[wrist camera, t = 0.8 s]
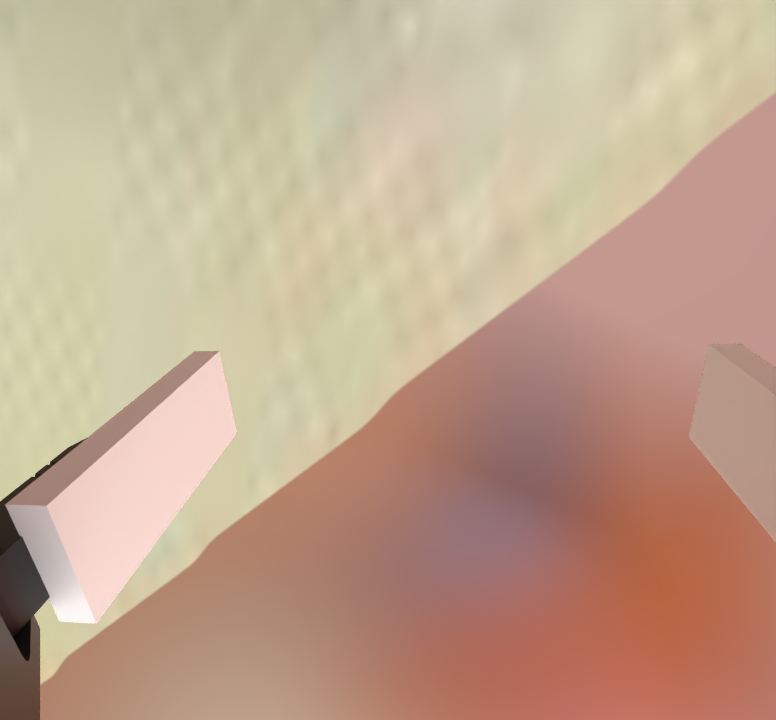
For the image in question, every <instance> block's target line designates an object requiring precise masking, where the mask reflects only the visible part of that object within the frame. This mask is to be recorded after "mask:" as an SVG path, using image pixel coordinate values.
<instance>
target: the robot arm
mask: <svg viewBox="0 0 776 720" xmlns="http://www.w3.org/2000/svg"><path fill="white" fill-rule="evenodd" d="M236 434H237V432H236V427H235V422H234V418H233V413H232V408H231V404H230V399H229V394H228V390H227V385H226V380H225V376H224V371H223V366H222V362H221V357H220V352H219V351H199V352H193V353H192V354H191V355H189V356H188V357H187V358H186V359H184V360H183V361H182V362H181V363H180V364H178V365H177V366H176V367H175V368H173V369H172V370H171V371H170V372H168V373H167V374H166V375H165V376H163V377H162V378H161V379H160V380H158V381H157V382H156V383H155V384H154V385H152V386H151V387H150V388H149V389H147V390H146V391H145V392H144V393H142V394H141V395H140V396H139V397H137V398H136V399H135V400H134V401H133V402H131V403H130V404H129V405H128V406H126V407H125V408H124V409H123V410H121V411H120V412H119V413H118V414H116V415H115V416H114V417H113V418H112V419H110V420H109V421H108V422H107V423H105V424H104V425H103V426H102V427H100V428H99V429H98V430H97V431H95V432H94V433H93V434H92V435H90V436H89V437H88V438H86V439H84V440H82V441H80V442H78V443H76V444H74V445H72V446H71V447H69V448H67V449H66V450H65V451H63V452H62V453H61V454H60V455H58V456H57V457H56V458H55V459H53V460H52V461H51V462H50V465H46V466H45V467H43V468H42V469H41V470H39V471H38V472H37V473H36V474H35V477H31V478H29V479H28V480H27V481H26V482H24V483H23V484H22V485H21V486H19V487H18V488H17V489H16V490H14V491H13V492H12V493H10V494H9V495H8V496H7V497H5V498H4V499H3V500H2V501H0V720H40V628H39V626H38V623H37V621H36V619H35V616H34V614H35V613H36V612H37V611H38V610H39V609H40V607H41V606H42V605H43V604H44V603H45V602H46V601H47V599H48V598H49V600H50V602H51V605H52V607H53V609H54V611H55V613H56V615H57V617H58V620H59V621H63V622H79V623H95V624H96V623H97V622H98V621H99V619H100V618H101V617H102V615H103V614H104V613H105V611H106V610H107V609H108V607H109V606H110V604H111V603H112V602H113V600H114V599H115V598H116V596H117V595H118V594H119V592H120V591H121V590H122V588H123V587H124V585H125V584H126V583H127V581H128V580H129V579H130V577H131V576H132V575H133V573H134V572H135V571H136V569H137V568H138V566H139V565H140V564H141V562H142V561H143V560H144V558H145V557H146V556H147V554H148V553H149V552H150V550H151V549H152V547H153V546H154V545H155V543H156V542H157V541H158V539H159V538H160V537H161V535H162V534H163V533H164V531H165V530H166V528H167V527H168V526H169V524H170V523H171V522H172V520H173V519H174V518H175V516H176V515H177V514H178V512H179V511H180V510H181V508H182V507H183V505H184V504H185V503H186V501H187V500H188V499H189V497H190V496H191V495H192V493H193V492H194V491H195V489H196V488H197V486H198V485H199V484H200V482H201V481H202V480H203V478H204V477H205V476H206V474H207V473H208V472H209V470H210V469H211V467H212V466H213V465H214V463H215V462H216V461H217V459H218V458H219V457H220V455H221V454H222V453H223V451H224V450H225V448H226V447H227V446H228V444H229V443H230V442H231V440H232V439H233V438H234V436H235V435H236ZM689 438H690V439H691V440H692V442H693V443H694V444H695V445H696V446H697V448H698V449H699V450H700V451H701V452H702V454H704V456H705V457H706V458H707V460H708V461H709V462H710V463H711V464H712V466H713V467H714V468H715V469H716V471H717V472H718V473H719V474H720V475H721V477H722V478H723V479H724V480H725V481H726V483H727V484H728V485H729V486H730V487H731V489H732V490H733V491H734V492H735V494H736V495H737V496H738V497H739V498H740V500H741V501H742V502H743V503H744V504H745V505H746V507H747V508H748V509H749V510H750V512H751V513H752V514H753V515H754V517H755V518H756V519H757V520H758V521H759V523H760V524H761V525H762V526H763V527H764V529H765V530H766V531H767V532H768V534H769V535H770V536H771V537H772V538H773V540H774V541H775V542H776V367H775V366H773V365H772V364H770V363H769V362H767V361H766V360H764V359H763V358H761V357H760V356H758V355H757V354H755V353H754V352H753V351H751V350H750V349H748V348H747V347H745V346H744V345H742V344H712V345H711V344H710V345H709V346H708V350H707V355H706V360H705V364H704V369H703V374H702V378H701V383H700V388H699V392H698V397H697V402H696V406H695V411H694V416H693V421H692V425H691V430H690V434H689Z"/></svg>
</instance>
